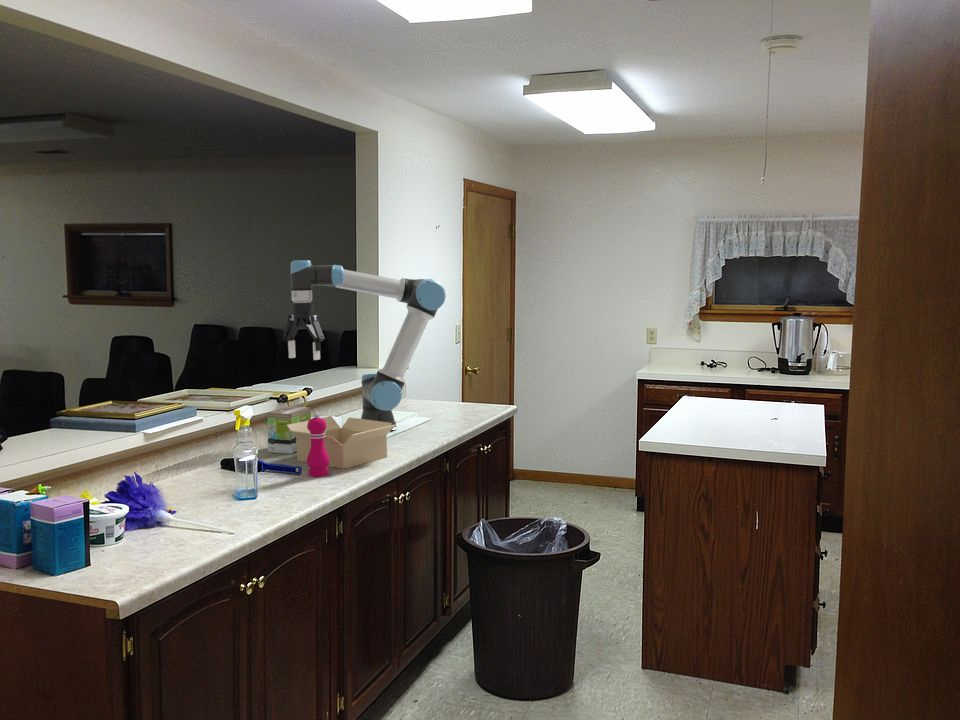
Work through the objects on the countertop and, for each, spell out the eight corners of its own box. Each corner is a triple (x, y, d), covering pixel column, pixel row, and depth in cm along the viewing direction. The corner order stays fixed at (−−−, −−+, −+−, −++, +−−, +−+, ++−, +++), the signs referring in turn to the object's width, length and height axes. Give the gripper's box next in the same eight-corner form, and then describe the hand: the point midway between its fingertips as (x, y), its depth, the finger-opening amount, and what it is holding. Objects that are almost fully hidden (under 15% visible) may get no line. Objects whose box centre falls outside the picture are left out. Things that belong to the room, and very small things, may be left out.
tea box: (292, 454, 298) (291, 413, 296) (267, 453, 301) (265, 412, 299) (312, 445, 312) (311, 406, 311) (288, 444, 315) (286, 405, 313)
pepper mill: (322, 478, 263) (320, 415, 260) (302, 476, 265) (300, 414, 263) (334, 472, 269) (332, 411, 267) (315, 471, 272) (312, 410, 270)
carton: (339, 446, 310) (338, 414, 309) (404, 456, 291) (403, 422, 290) (279, 461, 287) (277, 426, 286) (345, 473, 268) (344, 436, 267)
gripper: (272, 302, 317) (274, 358, 319) (317, 302, 302) (319, 361, 305) (287, 301, 323) (289, 356, 325) (332, 301, 308) (335, 359, 311)
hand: (304, 358), depth 315 cm, fingers open, 13 cm apart
